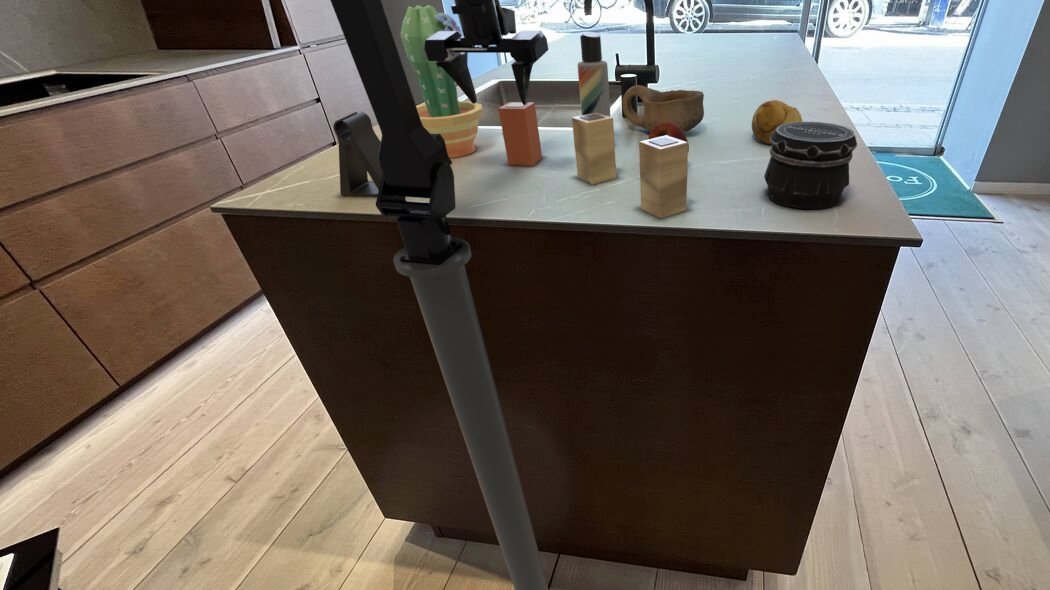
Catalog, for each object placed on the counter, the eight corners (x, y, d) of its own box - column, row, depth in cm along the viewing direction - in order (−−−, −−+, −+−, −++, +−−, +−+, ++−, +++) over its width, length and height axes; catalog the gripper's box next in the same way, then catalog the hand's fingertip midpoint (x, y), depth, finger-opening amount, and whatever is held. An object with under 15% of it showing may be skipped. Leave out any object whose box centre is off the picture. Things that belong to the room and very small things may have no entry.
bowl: (616, 135, 109) (615, 81, 105) (626, 137, 122) (625, 88, 118) (702, 134, 107) (704, 79, 103) (703, 136, 120) (705, 87, 116)
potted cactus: (450, 167, 100) (411, 10, 85) (397, 156, 107) (352, 8, 91) (506, 146, 110) (481, 2, 95) (455, 137, 117) (423, 1, 102)
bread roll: (745, 131, 114) (748, 90, 109) (789, 129, 114) (795, 88, 109) (755, 148, 104) (760, 104, 99) (805, 146, 104) (812, 102, 99)
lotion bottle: (599, 140, 112) (591, 29, 100) (617, 145, 109) (611, 31, 96) (578, 146, 109) (568, 33, 97) (597, 151, 105) (588, 35, 93)
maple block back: (616, 178, 93) (613, 116, 86) (592, 185, 90) (587, 122, 84) (601, 171, 96) (596, 111, 90) (577, 177, 94) (571, 116, 87)
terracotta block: (533, 166, 99) (524, 108, 93) (508, 165, 100) (498, 107, 94) (542, 157, 103) (534, 101, 97) (518, 156, 104) (509, 101, 98)
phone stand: (407, 184, 93) (385, 111, 86) (391, 196, 89) (366, 120, 81) (359, 183, 94) (333, 111, 87) (341, 196, 90) (312, 120, 82)
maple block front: (686, 210, 80) (688, 141, 74) (660, 218, 78) (660, 148, 72) (666, 201, 84) (666, 134, 77) (640, 209, 81) (638, 140, 75)
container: (842, 184, 87) (855, 120, 81) (848, 214, 77) (864, 144, 71) (763, 180, 90) (771, 118, 83) (760, 209, 80) (768, 141, 74)
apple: (638, 169, 96) (636, 123, 91) (665, 159, 100) (665, 114, 95) (669, 178, 92) (669, 130, 87) (696, 167, 96) (698, 120, 91)
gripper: (550, -23, 80) (567, 86, 92) (441, -20, 84) (470, 84, 96) (523, -4, 73) (545, 112, 84) (405, -1, 77) (441, 109, 88)
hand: (499, 103), depth 88 cm, fingers open, 9 cm apart
